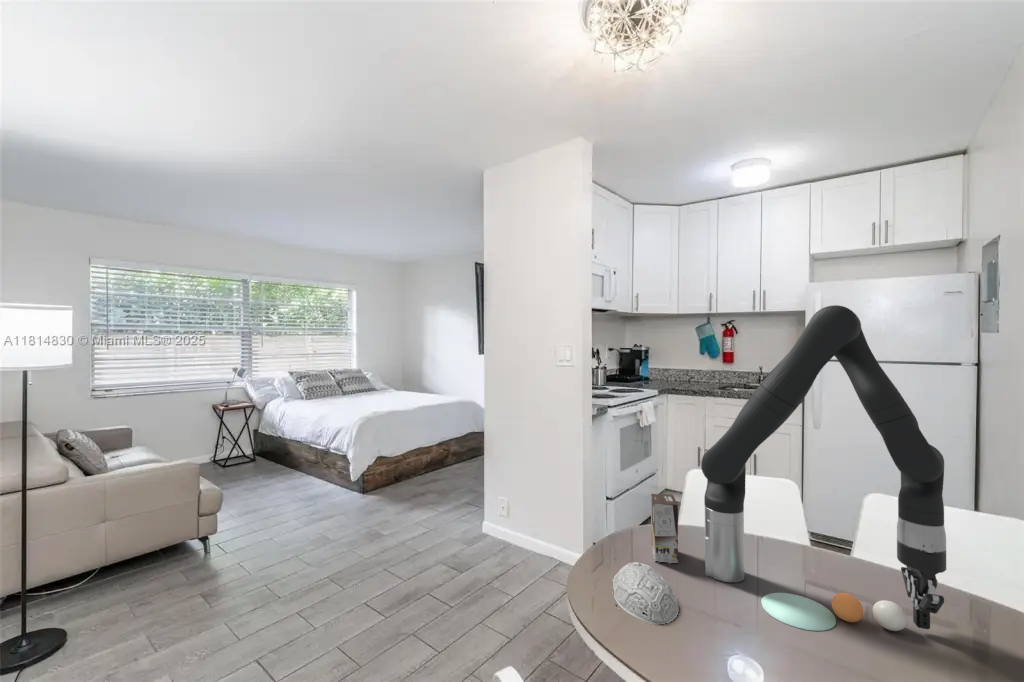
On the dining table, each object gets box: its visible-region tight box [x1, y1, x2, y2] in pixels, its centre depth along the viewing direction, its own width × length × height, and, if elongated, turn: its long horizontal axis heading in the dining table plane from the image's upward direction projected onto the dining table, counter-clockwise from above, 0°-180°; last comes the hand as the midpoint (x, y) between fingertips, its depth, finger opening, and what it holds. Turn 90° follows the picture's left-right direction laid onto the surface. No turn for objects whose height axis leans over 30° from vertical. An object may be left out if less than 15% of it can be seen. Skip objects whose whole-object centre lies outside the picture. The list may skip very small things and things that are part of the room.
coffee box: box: [650, 493, 679, 564], centre depth 128 cm, size 9×6×16 cm
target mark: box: [760, 592, 837, 632], centre depth 101 cm, size 14×14×1 cm
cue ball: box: [872, 600, 908, 632], centre depth 95 cm, size 6×6×6 cm
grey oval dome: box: [612, 561, 680, 625], centre depth 108 cm, size 16×25×7 cm, turn 176°
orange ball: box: [831, 592, 864, 623], centre depth 98 cm, size 6×6×6 cm
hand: (921, 626), depth 93 cm, fingers closed
